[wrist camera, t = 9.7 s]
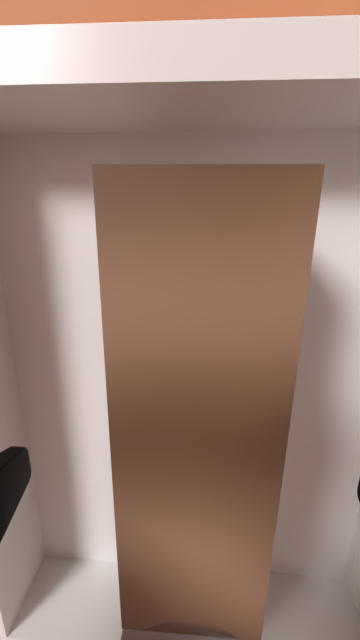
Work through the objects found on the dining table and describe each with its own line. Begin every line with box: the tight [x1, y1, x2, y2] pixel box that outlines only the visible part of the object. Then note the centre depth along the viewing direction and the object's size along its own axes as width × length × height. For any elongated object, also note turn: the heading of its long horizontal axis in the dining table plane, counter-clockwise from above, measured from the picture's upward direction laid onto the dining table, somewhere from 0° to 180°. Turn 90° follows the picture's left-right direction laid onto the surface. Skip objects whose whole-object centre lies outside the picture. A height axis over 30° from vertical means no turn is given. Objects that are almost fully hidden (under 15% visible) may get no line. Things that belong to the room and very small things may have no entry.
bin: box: [0, 15, 360, 640], centre depth 10 cm, size 16×20×4 cm
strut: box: [92, 164, 325, 640], centre depth 9 cm, size 14×4×5 cm, turn 179°
